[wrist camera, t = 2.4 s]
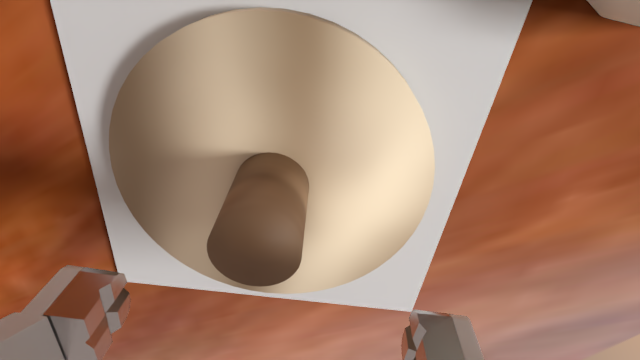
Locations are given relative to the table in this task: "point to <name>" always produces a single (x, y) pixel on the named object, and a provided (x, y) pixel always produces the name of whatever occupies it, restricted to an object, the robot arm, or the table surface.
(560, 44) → the table surface
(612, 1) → the bowl
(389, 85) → the lid
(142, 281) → the mat
